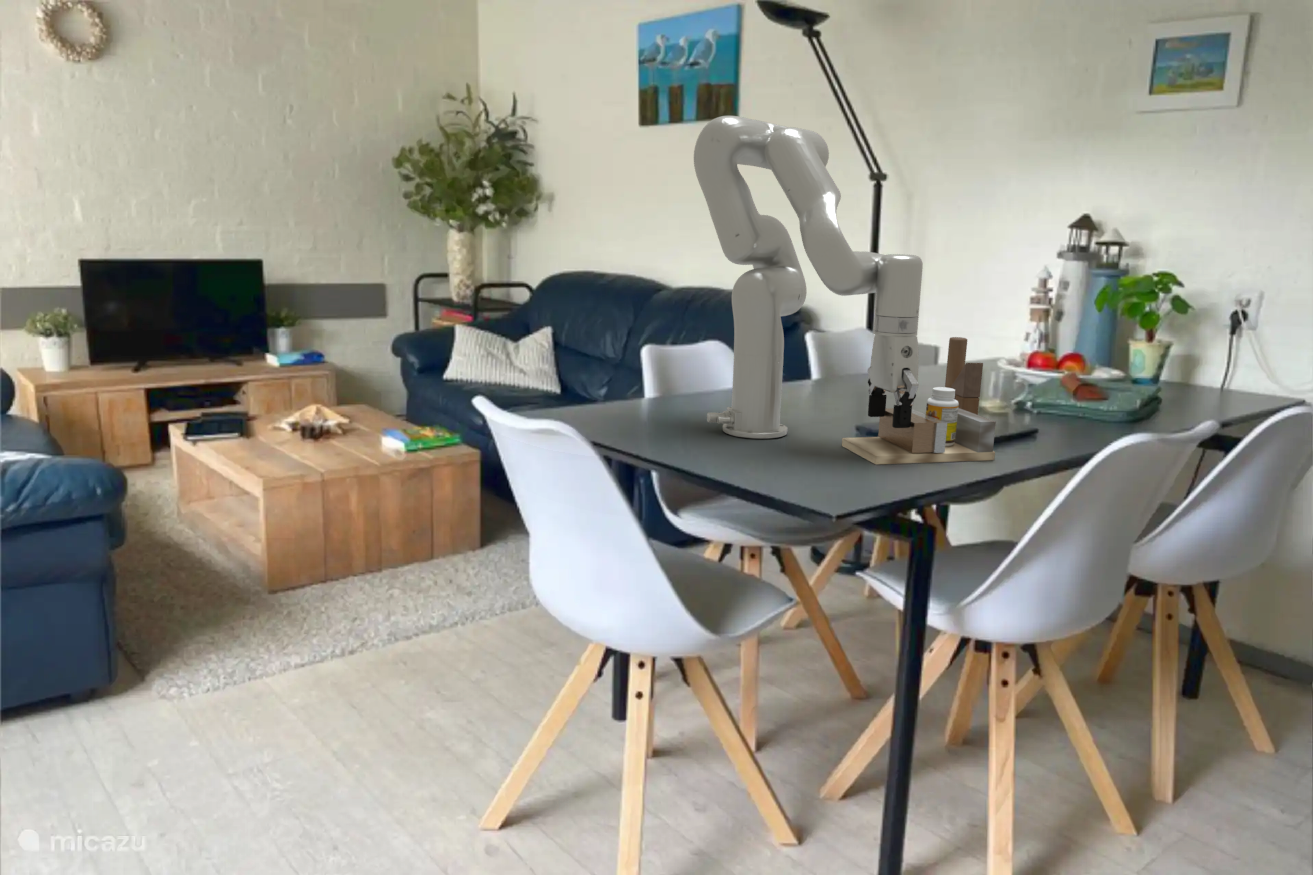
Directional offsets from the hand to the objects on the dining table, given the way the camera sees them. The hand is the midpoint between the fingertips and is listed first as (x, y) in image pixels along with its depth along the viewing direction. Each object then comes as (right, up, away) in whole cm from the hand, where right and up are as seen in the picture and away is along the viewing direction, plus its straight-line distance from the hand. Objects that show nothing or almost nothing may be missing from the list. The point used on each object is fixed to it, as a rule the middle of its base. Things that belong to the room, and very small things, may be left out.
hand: (888, 421), depth 174 cm
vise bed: (+6, -6, +3) cm, 9 cm away
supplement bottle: (+10, -4, +4) cm, 12 cm away
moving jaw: (+4, -4, +2) cm, 6 cm away
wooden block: (+20, -1, +27) cm, 34 cm away
